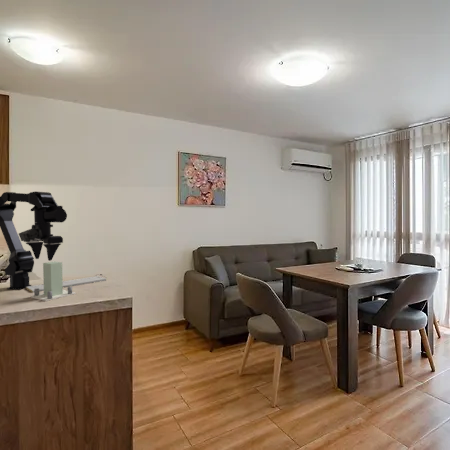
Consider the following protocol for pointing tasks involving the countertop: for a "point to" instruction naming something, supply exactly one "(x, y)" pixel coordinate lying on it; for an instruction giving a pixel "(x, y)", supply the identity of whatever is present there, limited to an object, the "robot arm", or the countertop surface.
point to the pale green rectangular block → (53, 278)
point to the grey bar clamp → (70, 283)
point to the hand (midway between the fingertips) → (43, 259)
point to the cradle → (49, 294)
